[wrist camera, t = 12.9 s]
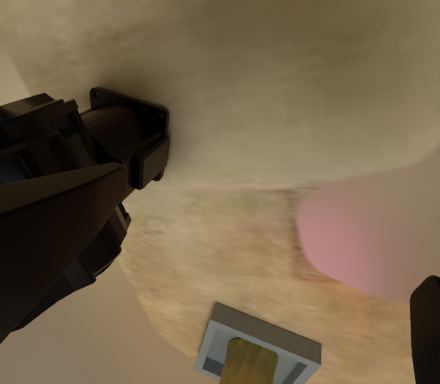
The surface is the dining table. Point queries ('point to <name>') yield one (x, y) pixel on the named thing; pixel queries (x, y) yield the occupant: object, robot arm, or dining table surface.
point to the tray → (261, 335)
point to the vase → (248, 363)
